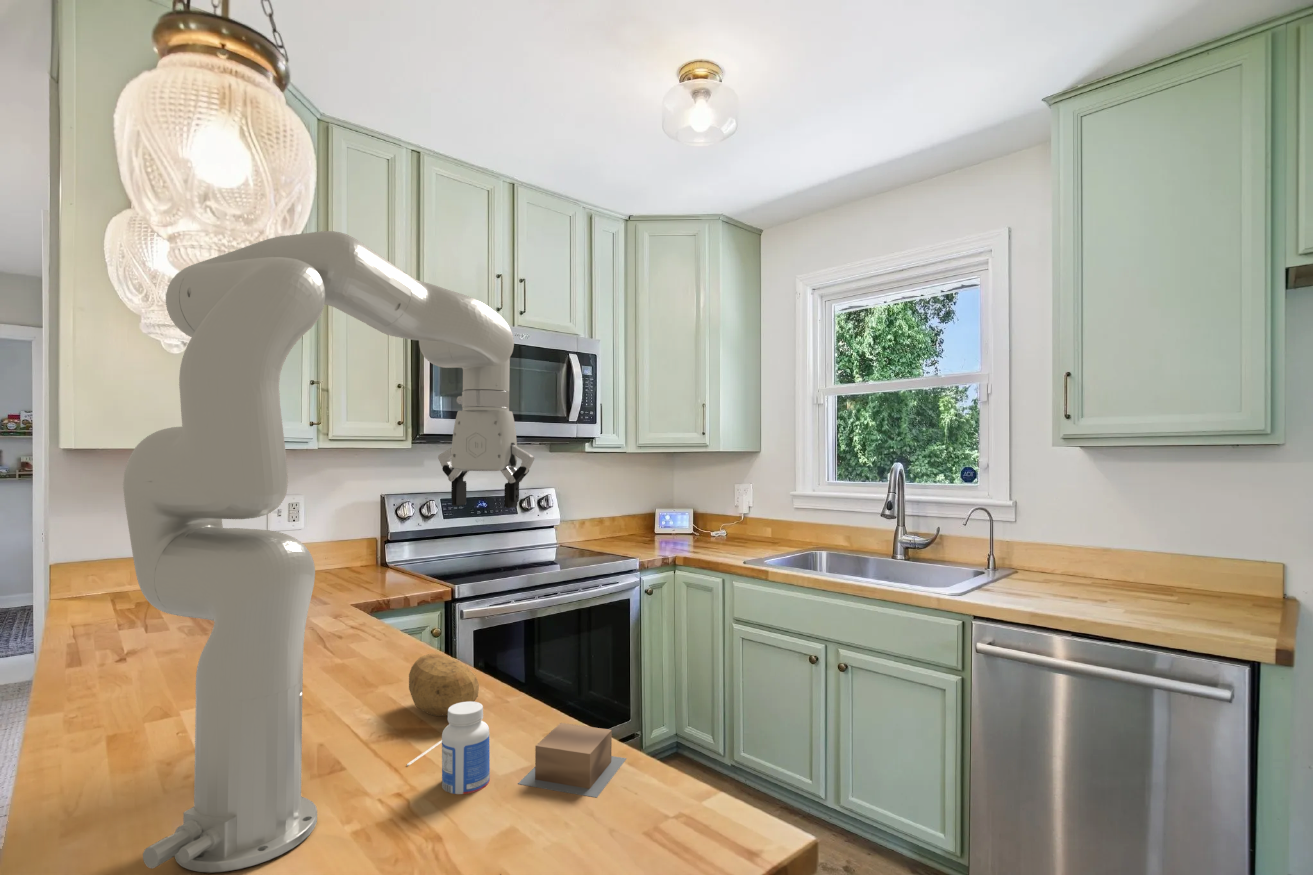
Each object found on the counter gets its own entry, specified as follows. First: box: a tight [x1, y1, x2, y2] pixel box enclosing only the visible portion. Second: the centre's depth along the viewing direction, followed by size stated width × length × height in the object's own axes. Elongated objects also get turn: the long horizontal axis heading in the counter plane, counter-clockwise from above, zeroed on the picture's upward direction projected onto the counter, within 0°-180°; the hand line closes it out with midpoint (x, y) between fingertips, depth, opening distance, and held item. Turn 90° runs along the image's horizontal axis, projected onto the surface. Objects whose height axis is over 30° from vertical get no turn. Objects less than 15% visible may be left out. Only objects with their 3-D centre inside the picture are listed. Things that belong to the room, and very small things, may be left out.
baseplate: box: [517, 755, 628, 798], centre depth 82 cm, size 10×10×1 cm
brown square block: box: [534, 722, 613, 789], centre depth 83 cm, size 7×7×4 cm
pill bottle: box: [441, 701, 491, 795], centre depth 80 cm, size 6×5×10 cm
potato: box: [408, 653, 480, 717], centre depth 102 cm, size 10×14×8 cm
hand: (484, 506), depth 112 cm, fingers open, 9 cm apart
